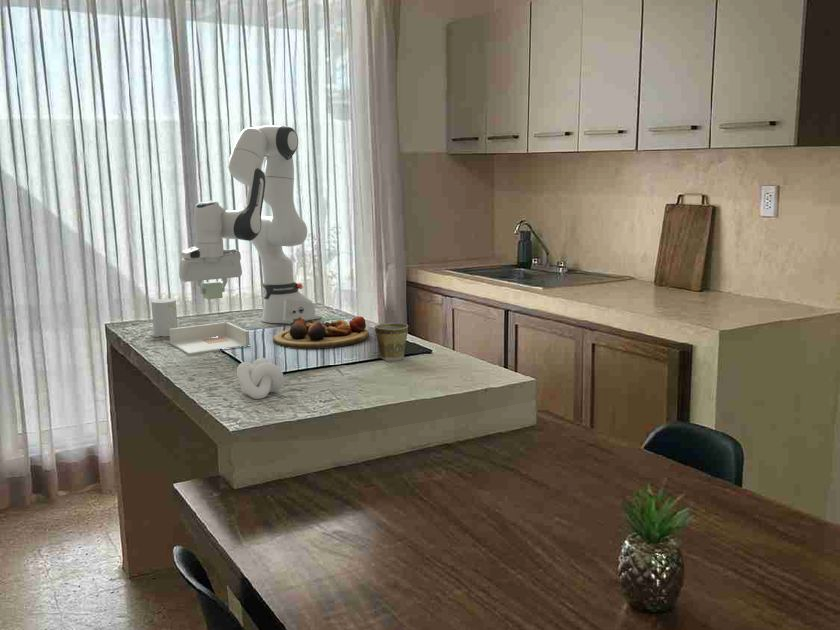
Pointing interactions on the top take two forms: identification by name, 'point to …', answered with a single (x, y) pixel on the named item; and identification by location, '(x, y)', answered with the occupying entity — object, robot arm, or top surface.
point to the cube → (212, 290)
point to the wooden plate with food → (322, 334)
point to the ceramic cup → (391, 340)
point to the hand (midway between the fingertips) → (212, 292)
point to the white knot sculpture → (259, 378)
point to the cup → (164, 316)
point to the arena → (198, 337)
